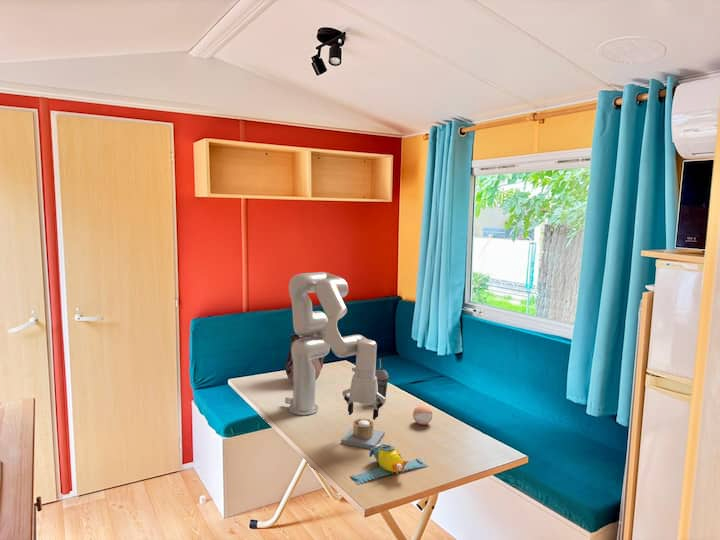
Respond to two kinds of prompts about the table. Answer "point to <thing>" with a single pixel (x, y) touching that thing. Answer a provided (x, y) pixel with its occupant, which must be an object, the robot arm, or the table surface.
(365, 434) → the ring
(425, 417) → the toy ball
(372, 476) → the toy parrot figure
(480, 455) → the table surface
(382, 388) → the beverage cup
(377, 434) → the block
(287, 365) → the ceramic pitcher
